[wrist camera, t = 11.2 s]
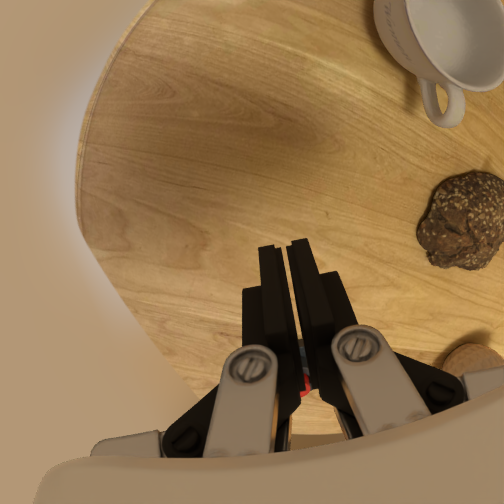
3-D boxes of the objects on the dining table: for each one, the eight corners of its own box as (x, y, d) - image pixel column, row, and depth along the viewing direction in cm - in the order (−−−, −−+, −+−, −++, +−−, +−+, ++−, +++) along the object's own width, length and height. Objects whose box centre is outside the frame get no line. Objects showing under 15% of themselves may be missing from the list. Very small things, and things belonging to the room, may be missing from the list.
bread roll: (510, 177, 26) (537, 195, 22) (480, 266, 33) (500, 289, 28) (432, 159, 26) (461, 176, 21) (403, 266, 32) (422, 294, 28)
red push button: (279, 390, 39) (280, 401, 38) (276, 374, 37) (277, 385, 36) (309, 385, 39) (311, 396, 37) (307, 369, 37) (309, 380, 35)
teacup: (374, -44, 15) (417, -73, 8) (470, 13, 17) (525, 10, 10) (337, 85, 22) (374, 92, 16) (437, 130, 24) (490, 155, 17)
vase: (491, 316, 38) (539, 394, 24) (484, 357, 44) (518, 425, 30) (426, 352, 41) (465, 442, 27) (428, 387, 47) (456, 461, 33)
